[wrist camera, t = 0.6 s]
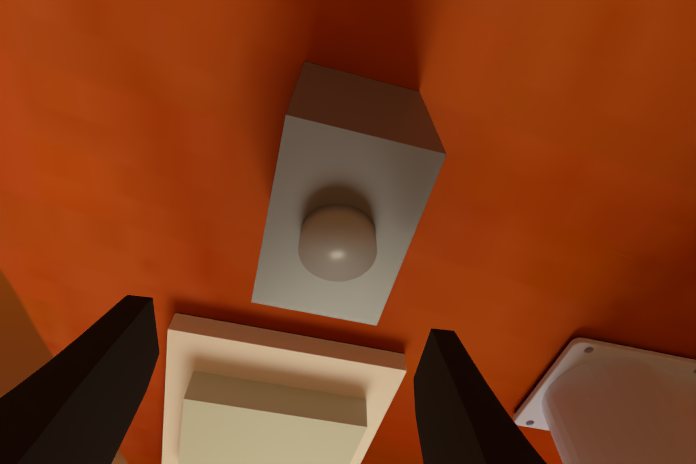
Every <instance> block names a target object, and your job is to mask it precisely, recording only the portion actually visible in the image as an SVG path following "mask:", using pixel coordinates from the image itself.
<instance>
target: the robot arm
mask: <svg viewBox="0 0 696 464" xmlns="http://www.w3.org/2000/svg"><path fill="white" fill-rule="evenodd" d="M158 356H159V346H158V338H157V330H156V322H155V314H154V306H153V298H150V297H141V296H132V295H127V296H126V297H124V298H123V299H122V300H121V301H120V302H118V303H117V304H116V305H115V306H114V307H113V308H112V309H110V310H109V311H108V312H107V313H106V314H105V315H104V316H102V317H101V318H100V319H99V320H98V321H97V322H96V323H94V324H93V325H92V326H91V327H90V328H89V329H87V330H86V331H85V332H84V333H83V334H82V335H80V336H79V337H78V338H77V339H76V340H74V341H73V342H72V343H71V344H70V345H68V346H67V347H66V348H65V349H64V350H62V351H61V352H60V353H59V354H58V355H56V356H55V357H54V358H53V359H51V360H50V361H49V362H48V363H46V364H45V365H44V366H42V367H41V368H40V369H39V370H37V371H36V372H35V373H33V374H32V375H31V376H29V377H28V378H27V379H25V380H24V381H23V382H21V383H20V384H19V385H18V386H16V387H15V388H14V389H12V390H11V391H9V392H8V393H7V394H5V395H4V396H2V397H1V398H0V464H111V463H112V461H113V459H114V457H115V455H116V453H117V451H118V449H119V447H120V445H121V443H122V441H123V438H124V436H125V434H126V432H127V430H128V428H129V426H130V424H131V422H132V420H133V418H134V416H135V414H136V412H137V410H138V407H139V405H140V403H141V401H142V399H143V397H144V395H145V393H146V390H147V388H148V385H149V382H150V379H151V376H152V374H153V371H154V368H155V365H156V362H157V359H158ZM414 397H415V413H416V421H417V427H418V433H419V439H420V445H421V451H422V456H423V462H424V464H547V463H546V462H545V461H544V460H543V459H542V458H541V456H540V455H539V454H538V453H537V451H536V450H535V449H534V448H533V446H532V445H531V444H530V443H529V441H528V440H527V439H526V437H525V436H524V435H523V433H522V432H521V431H520V429H519V428H518V427H517V425H519V426H525V427H531V428H537V429H543V430H550V432H551V435H552V437H553V440H554V442H555V445H556V447H557V450H558V452H559V455H560V457H561V460H562V462H563V464H696V360H694V359H689V358H684V357H679V356H674V355H668V354H663V353H658V352H653V351H648V350H643V349H638V348H633V347H628V346H622V345H617V344H612V343H607V342H602V341H597V340H592V339H587V338H575V339H573V340H572V341H571V342H570V343H569V344H568V346H567V347H566V348H565V350H564V351H563V352H562V353H561V355H560V356H559V357H558V359H557V360H556V361H555V363H554V364H553V365H552V367H551V368H550V369H549V370H548V372H547V373H546V374H545V376H544V377H543V378H542V380H541V381H540V382H539V383H538V385H537V386H536V387H535V389H534V390H533V391H532V393H531V394H530V395H529V396H528V398H527V399H526V400H525V402H524V403H523V404H522V406H521V407H520V408H519V409H518V411H517V412H516V413H515V415H514V416H513V419H514V422H515V423H514V422H513V420H512V419H511V417H510V416H509V415H508V413H507V412H506V410H505V409H504V408H503V406H502V405H501V403H500V402H499V400H498V399H497V397H496V396H495V394H494V393H493V391H492V390H491V389H490V387H489V386H488V384H487V383H486V381H485V379H484V378H483V376H482V375H481V373H480V372H479V370H478V369H477V367H476V365H475V364H474V362H473V361H472V359H471V357H470V356H469V354H468V353H467V351H466V349H465V348H464V346H463V344H462V343H461V341H460V340H459V338H458V336H457V335H456V333H455V332H454V331H449V330H440V329H431V331H430V334H429V336H428V339H427V342H426V345H425V348H424V351H423V353H422V356H421V359H420V362H419V365H418V368H417V370H416V373H415V376H414Z"/></svg>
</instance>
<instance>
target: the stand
mask: <svg viewBox="0 0 696 464" xmlns="http://www.w3.org/2000/svg"><path fill="white" fill-rule="evenodd" d="M406 371H407V368H406V360H405V354H402V353H397V352H391V351H386V350H380V349H374V348H369V347H363V346H358V345H352V344H347V343H341V342H335V341H330V340H324V339H319V338H313V337H308V336H302V335H296V334H291V333H285V332H280V331H274V330H269V329H263V328H257V327H252V326H246V325H241V324H235V323H230V322H224V321H218V320H213V319H207V318H202V317H196V316H191V315H185V314H180V313H175V314H174V316H173V319H172V321H171V323H170V325H169V327H168V334H167V356H166V378H165V401H164V423H163V445H162V464H360V463H361V461H362V459H363V457H364V455H365V453H366V451H367V449H368V447H369V445H370V443H371V441H372V439H373V437H374V435H375V433H376V431H377V429H378V427H379V425H380V423H381V421H382V419H383V417H384V415H385V413H386V411H387V409H388V407H389V405H390V403H391V401H392V399H393V397H394V395H395V393H396V391H397V389H398V387H399V385H400V383H401V381H402V379H403V377H404V375H405V373H406Z"/></svg>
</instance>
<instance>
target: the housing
mask: <svg viewBox="0 0 696 464" xmlns="http://www.w3.org/2000/svg"><path fill="white" fill-rule="evenodd" d="M445 157H446V152H445V150H444V147H443V145H442V143H441V141H440V138H439V136H438V134H437V131H436V129H435V127H434V124H433V122H432V120H431V117H430V115H429V113H428V110H427V108H426V106H425V103H424V101H423V99H422V96H421V94H420V92H419V91H415V90H411V89H407V88H403V87H400V86H396V85H392V84H388V83H384V82H381V81H377V80H373V79H369V78H365V77H362V76H358V75H354V74H350V73H347V72H343V71H339V70H335V69H331V68H328V67H324V66H320V65H316V64H312V63H309V62H305V61H304V64H303V67H302V69H301V72H300V75H299V78H298V81H297V84H296V87H295V90H294V92H293V95H292V98H291V101H290V104H289V107H288V110H287V112H286V116H285V121H284V127H283V132H282V138H281V143H280V149H279V154H278V160H277V165H276V171H275V176H274V181H273V187H272V192H271V198H270V203H269V209H268V214H267V220H266V225H265V231H264V236H263V242H262V247H261V252H260V258H259V263H258V269H257V274H256V280H255V285H254V291H253V296H252V302H254V303H259V304H264V305H270V306H275V307H280V308H286V309H291V310H296V311H302V312H307V313H312V314H318V315H323V316H328V317H334V318H339V319H344V320H350V321H355V322H360V323H366V324H371V325H376V326H377V323H378V321H379V318H380V316H381V313H382V311H383V308H384V306H385V304H386V301H387V299H388V296H389V294H390V291H391V289H392V286H393V284H394V281H395V279H396V277H397V274H398V272H399V269H400V267H401V264H402V262H403V259H404V257H405V255H406V252H407V250H408V247H409V245H410V242H411V240H412V237H413V235H414V232H415V230H416V228H417V225H418V223H419V220H420V218H421V215H422V213H423V210H424V208H425V206H426V203H427V201H428V198H429V196H430V193H431V191H432V188H433V186H434V183H435V181H436V179H437V176H438V174H439V171H440V169H441V166H442V164H443V161H444V159H445Z"/></svg>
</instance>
